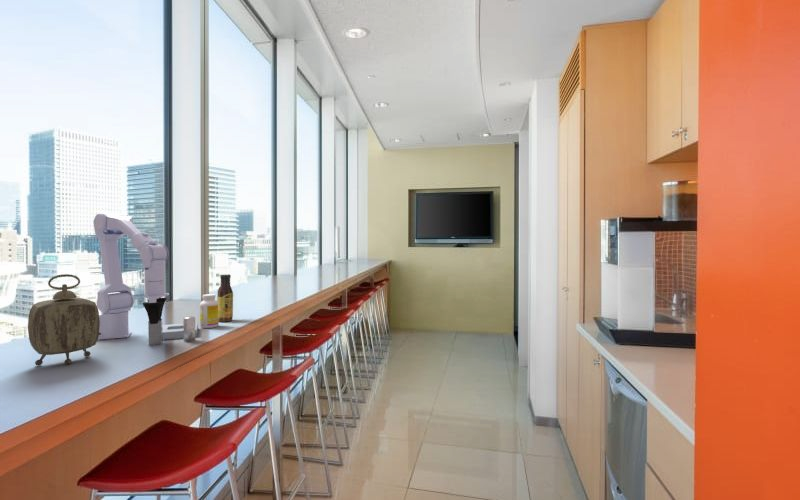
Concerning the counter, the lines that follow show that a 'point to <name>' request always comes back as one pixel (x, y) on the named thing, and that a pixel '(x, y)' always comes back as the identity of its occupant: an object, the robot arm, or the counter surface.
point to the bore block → (175, 331)
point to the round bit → (189, 329)
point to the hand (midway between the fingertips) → (155, 321)
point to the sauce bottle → (225, 299)
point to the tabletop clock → (63, 323)
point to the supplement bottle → (209, 311)
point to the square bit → (155, 333)
